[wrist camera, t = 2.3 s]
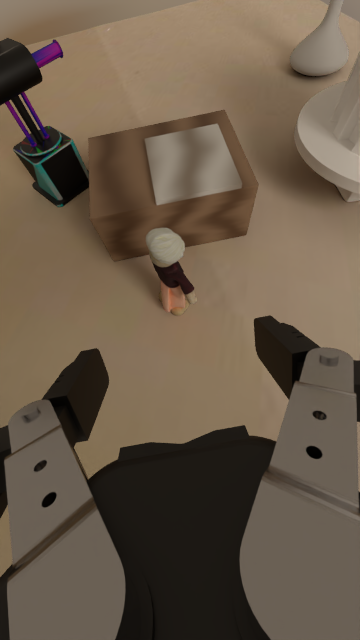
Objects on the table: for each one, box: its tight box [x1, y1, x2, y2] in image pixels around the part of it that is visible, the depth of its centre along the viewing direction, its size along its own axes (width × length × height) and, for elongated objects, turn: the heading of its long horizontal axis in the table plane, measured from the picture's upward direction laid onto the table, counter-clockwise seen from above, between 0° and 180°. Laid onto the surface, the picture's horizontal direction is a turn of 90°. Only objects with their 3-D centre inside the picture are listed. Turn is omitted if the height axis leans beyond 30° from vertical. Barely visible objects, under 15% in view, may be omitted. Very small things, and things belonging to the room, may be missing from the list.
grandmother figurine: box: [146, 228, 197, 316], centre depth 24 cm, size 8×4×13 cm, turn 49°
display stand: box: [88, 110, 258, 261], centre depth 33 cm, size 20×16×9 cm
